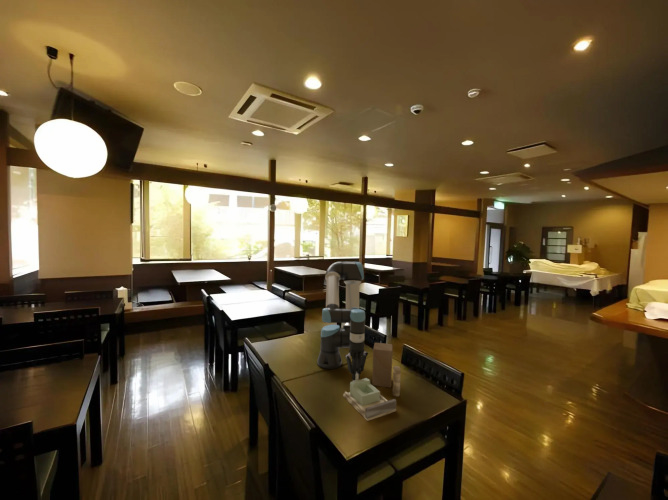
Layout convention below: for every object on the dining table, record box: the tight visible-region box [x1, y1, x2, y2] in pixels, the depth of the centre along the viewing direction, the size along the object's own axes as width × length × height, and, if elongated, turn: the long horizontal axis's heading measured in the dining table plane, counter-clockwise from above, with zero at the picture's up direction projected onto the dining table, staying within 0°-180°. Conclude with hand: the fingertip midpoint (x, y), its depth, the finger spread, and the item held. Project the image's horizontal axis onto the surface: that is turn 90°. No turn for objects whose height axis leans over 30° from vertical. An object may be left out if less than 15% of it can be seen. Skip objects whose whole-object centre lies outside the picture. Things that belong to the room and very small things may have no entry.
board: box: [342, 391, 397, 422], centre depth 134 cm, size 21×16×5 cm
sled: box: [349, 377, 381, 406], centre depth 137 cm, size 11×10×6 cm
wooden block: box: [371, 342, 393, 388], centre depth 154 cm, size 10×10×20 cm
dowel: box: [392, 365, 402, 398], centre depth 142 cm, size 4×4×14 cm
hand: (355, 385), depth 144 cm, fingers closed
